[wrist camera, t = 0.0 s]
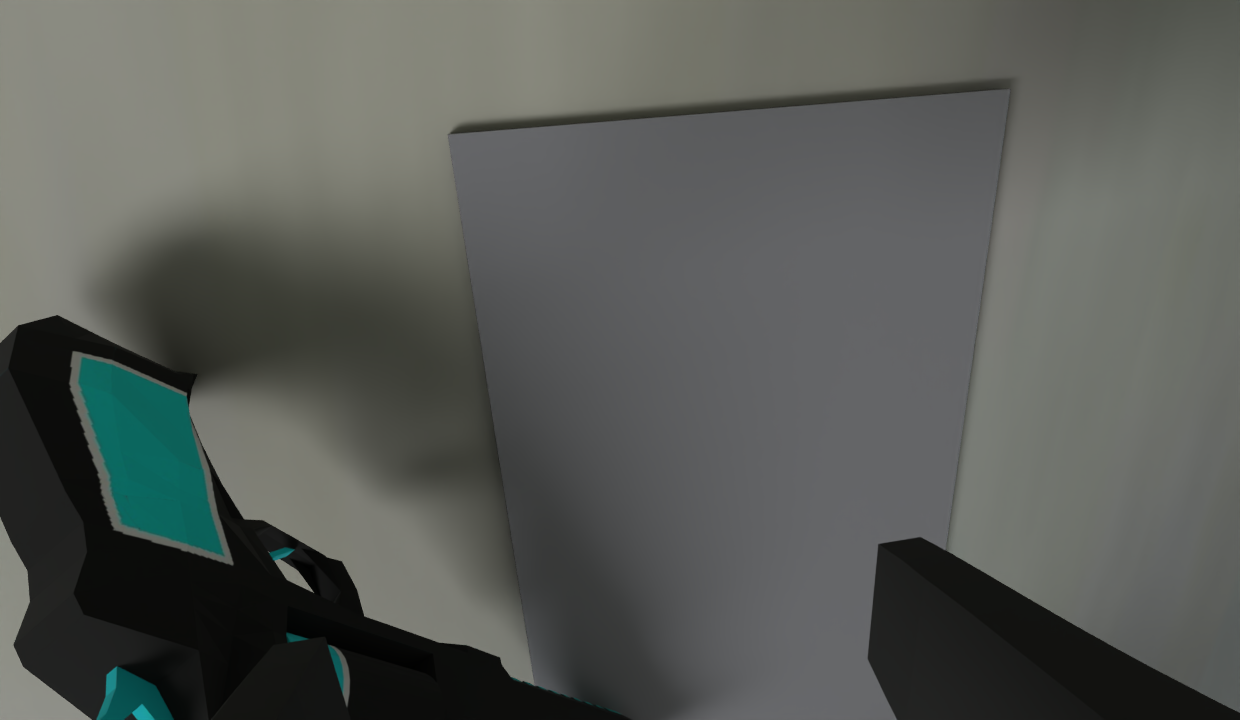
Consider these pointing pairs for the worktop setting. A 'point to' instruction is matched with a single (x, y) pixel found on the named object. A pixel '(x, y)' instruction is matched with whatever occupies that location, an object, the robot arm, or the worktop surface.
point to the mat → (726, 385)
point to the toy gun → (186, 560)
